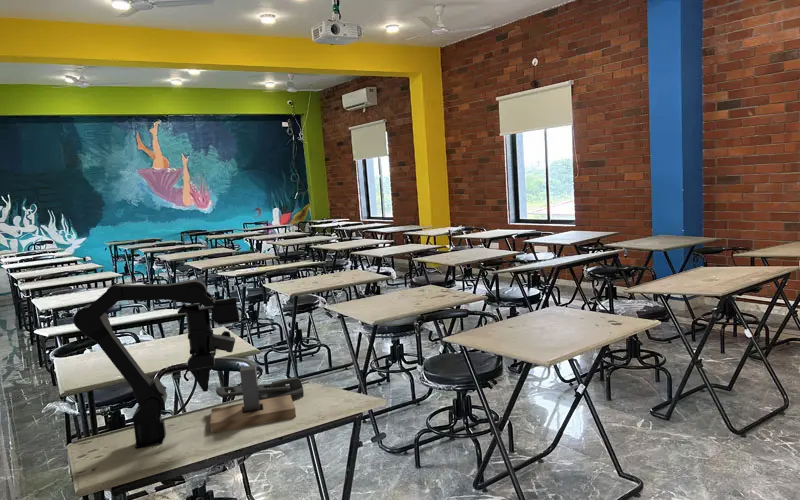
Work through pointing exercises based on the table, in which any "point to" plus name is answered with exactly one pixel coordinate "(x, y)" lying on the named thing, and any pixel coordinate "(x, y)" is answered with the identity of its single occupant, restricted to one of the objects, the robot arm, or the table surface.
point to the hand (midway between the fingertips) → (206, 386)
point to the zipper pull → (269, 389)
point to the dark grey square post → (250, 389)
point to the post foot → (251, 414)
